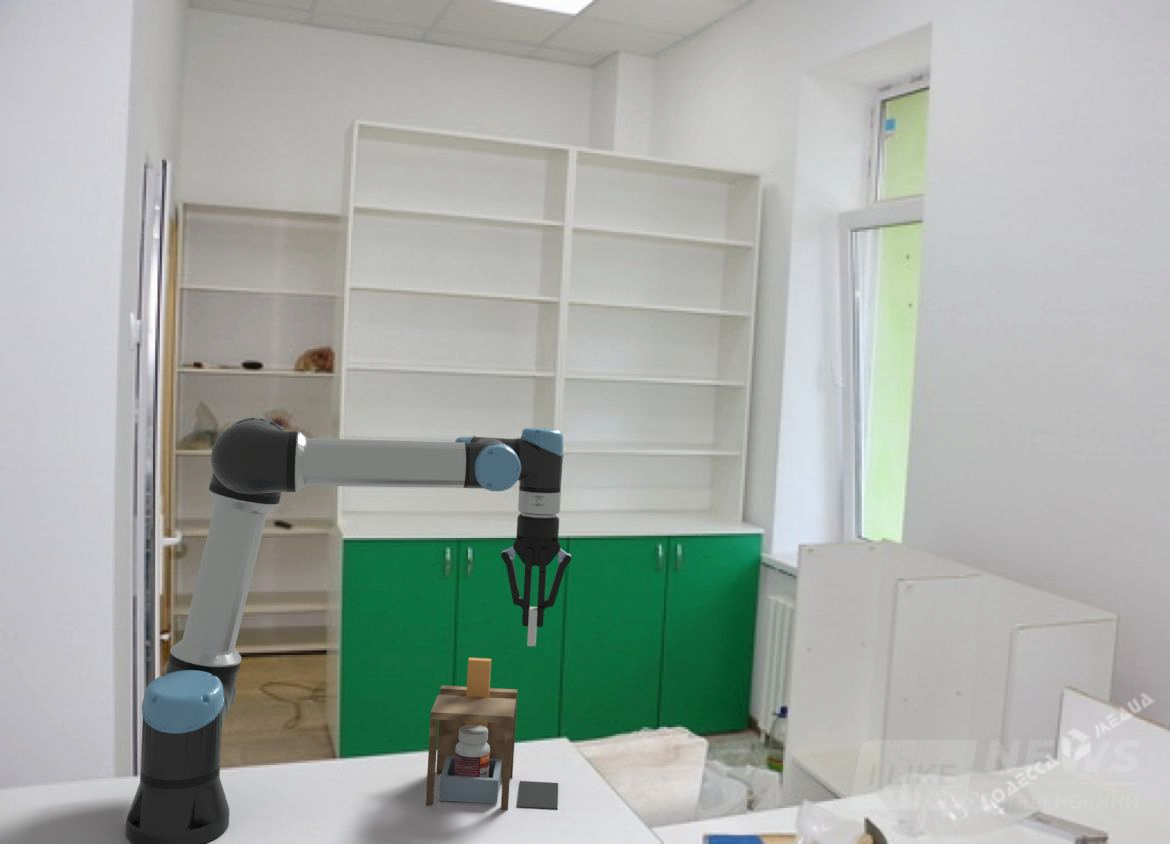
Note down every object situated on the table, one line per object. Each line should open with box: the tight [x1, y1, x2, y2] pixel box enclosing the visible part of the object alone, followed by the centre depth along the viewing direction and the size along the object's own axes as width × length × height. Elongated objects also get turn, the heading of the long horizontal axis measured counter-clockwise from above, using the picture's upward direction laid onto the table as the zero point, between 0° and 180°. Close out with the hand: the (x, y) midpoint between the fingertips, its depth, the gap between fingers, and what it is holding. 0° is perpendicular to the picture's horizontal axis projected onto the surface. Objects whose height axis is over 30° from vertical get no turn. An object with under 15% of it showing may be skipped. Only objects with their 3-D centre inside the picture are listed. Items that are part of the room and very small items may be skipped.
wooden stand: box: [425, 685, 519, 811], centre depth 183 cm, size 14×15×16 cm
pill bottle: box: [454, 725, 490, 778], centre depth 182 cm, size 6×6×11 cm
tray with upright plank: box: [438, 657, 502, 804], centre depth 182 cm, size 10×10×22 cm
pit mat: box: [516, 780, 559, 810], centre depth 183 cm, size 7×11×1 cm, turn 1°
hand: (531, 644), depth 186 cm, fingers closed
